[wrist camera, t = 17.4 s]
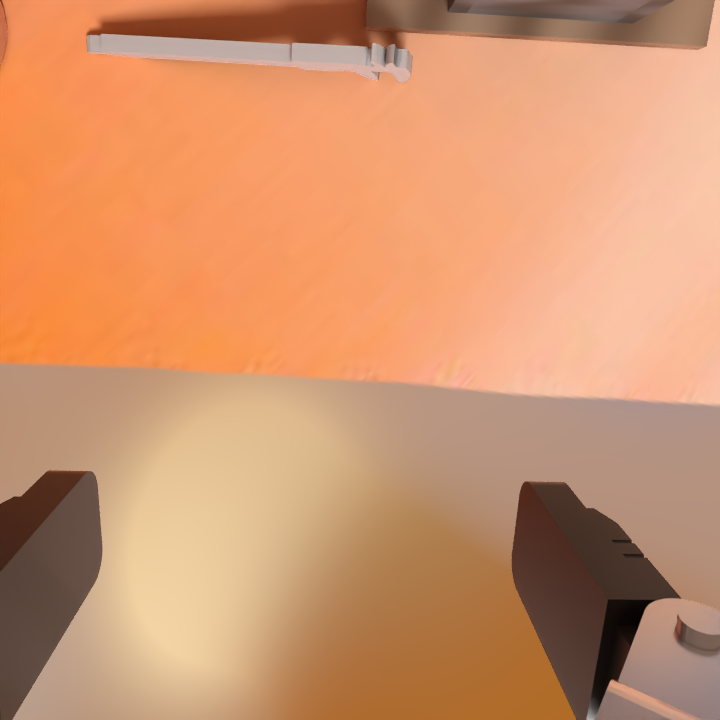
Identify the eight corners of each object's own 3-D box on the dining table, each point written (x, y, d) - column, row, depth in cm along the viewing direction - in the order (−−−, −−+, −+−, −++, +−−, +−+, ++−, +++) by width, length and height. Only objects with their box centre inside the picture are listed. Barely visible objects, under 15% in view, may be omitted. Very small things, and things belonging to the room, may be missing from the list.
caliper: (406, 66, 40) (419, 44, 34) (405, 84, 40) (417, 65, 34) (89, 36, 39) (44, 8, 33) (90, 55, 39) (45, 30, 33)
